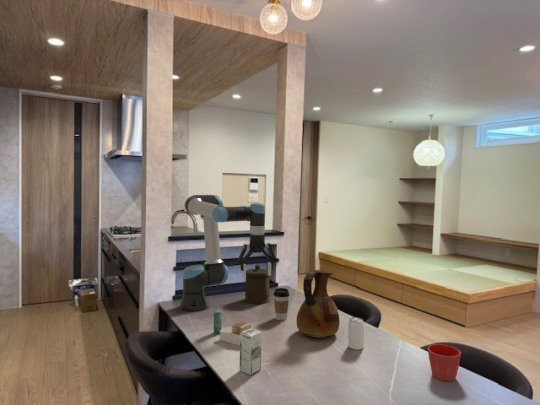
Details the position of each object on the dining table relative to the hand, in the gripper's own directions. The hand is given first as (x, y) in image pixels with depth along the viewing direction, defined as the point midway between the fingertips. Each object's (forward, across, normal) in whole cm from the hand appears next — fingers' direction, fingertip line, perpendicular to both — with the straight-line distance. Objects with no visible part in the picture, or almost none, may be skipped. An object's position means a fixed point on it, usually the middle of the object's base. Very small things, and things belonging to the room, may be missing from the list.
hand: (256, 276), depth 182 cm
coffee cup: (+24, +14, +2) cm, 28 cm away
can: (+24, +31, -42) cm, 57 cm away
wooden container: (+24, +13, +37) cm, 46 cm away
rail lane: (+24, -14, -17) cm, 32 cm away
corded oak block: (+24, -17, -13) cm, 32 cm away
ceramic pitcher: (+24, +22, -23) cm, 40 cm away
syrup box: (+24, -18, -46) cm, 55 cm away
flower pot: (+24, +46, -74) cm, 90 cm away
